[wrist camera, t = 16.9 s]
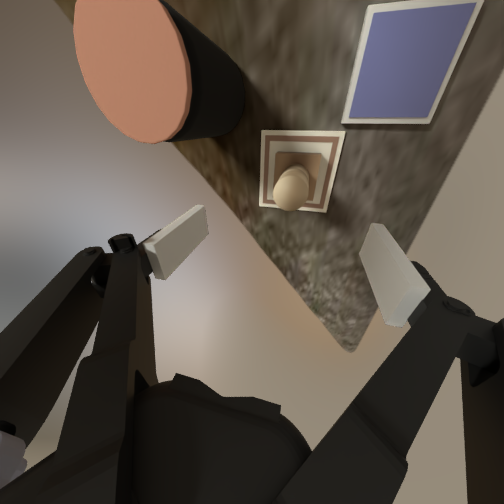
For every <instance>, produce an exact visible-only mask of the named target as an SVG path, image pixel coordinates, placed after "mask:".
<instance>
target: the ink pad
mask: <svg viewBox="0 0 504 504" xmlns="http://www.w3.org/2000/svg"><path fill="white" fill-rule="evenodd" d="M483 2H484V0H411V1H402V2H393V3H384V4H375V5H369V6H368V8H367V10H366V13H365V18H364V22H363V27H362V31H361V36H360V40H359V45H358V49H357V54H356V58H355V63H354V67H353V71H352V76H351V80H350V85H349V89H348V94H347V98H346V103H345V107H344V112H343V116H342V120H341V123H364V124H430V122H431V119H432V117H433V115H434V112H435V110H436V108H437V106H438V103H439V101H440V99H441V97H442V94H443V92H444V90H445V88H446V85H447V83H448V81H449V79H450V76H451V74H452V72H453V70H454V67H455V65H456V63H457V61H458V58H459V56H460V54H461V52H462V49H463V47H464V45H465V43H466V40H467V38H468V36H469V34H470V31H471V29H472V27H473V24H474V22H475V20H476V18H477V15H478V13H479V11H480V9H481V6H482V4H483Z"/></svg>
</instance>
